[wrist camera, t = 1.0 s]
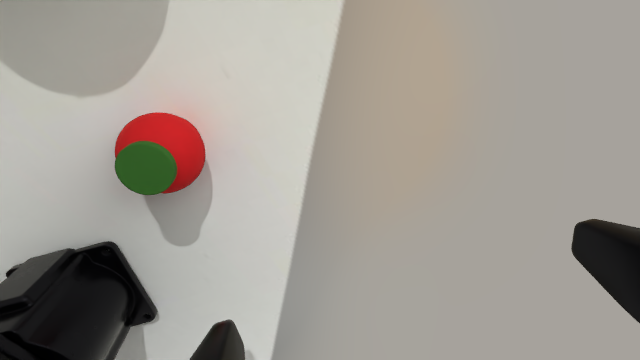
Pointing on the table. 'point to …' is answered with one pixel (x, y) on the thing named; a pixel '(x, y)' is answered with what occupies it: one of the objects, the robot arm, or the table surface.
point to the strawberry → (158, 154)
